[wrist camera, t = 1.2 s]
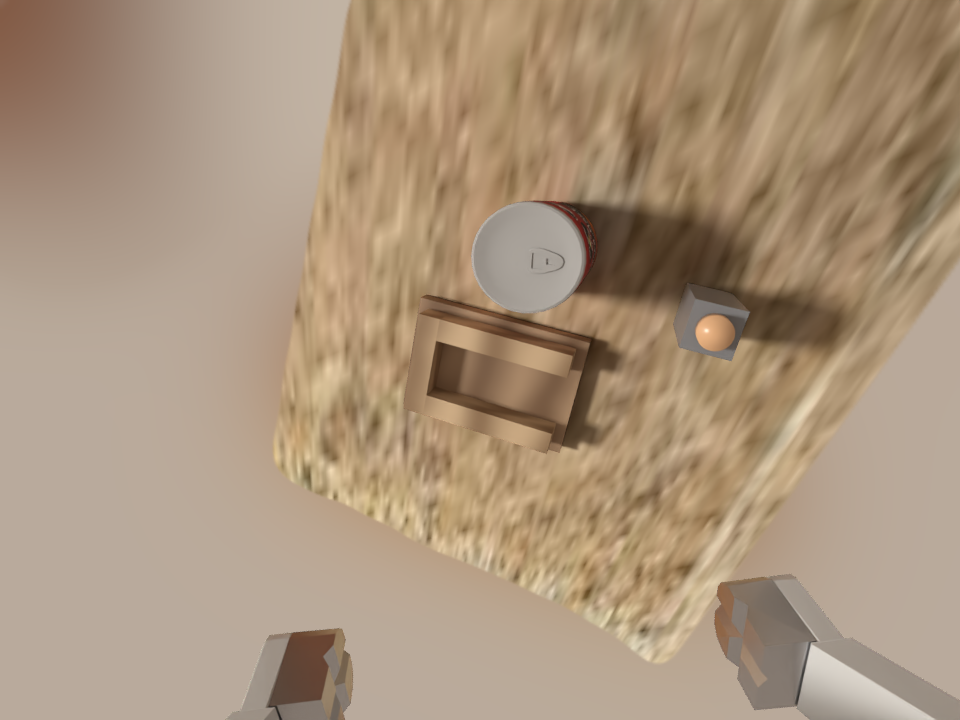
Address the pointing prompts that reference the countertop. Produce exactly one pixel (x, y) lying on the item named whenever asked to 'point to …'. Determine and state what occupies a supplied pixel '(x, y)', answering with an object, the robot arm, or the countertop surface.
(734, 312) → the block with orange ball
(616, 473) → the countertop surface
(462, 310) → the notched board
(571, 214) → the canned food
